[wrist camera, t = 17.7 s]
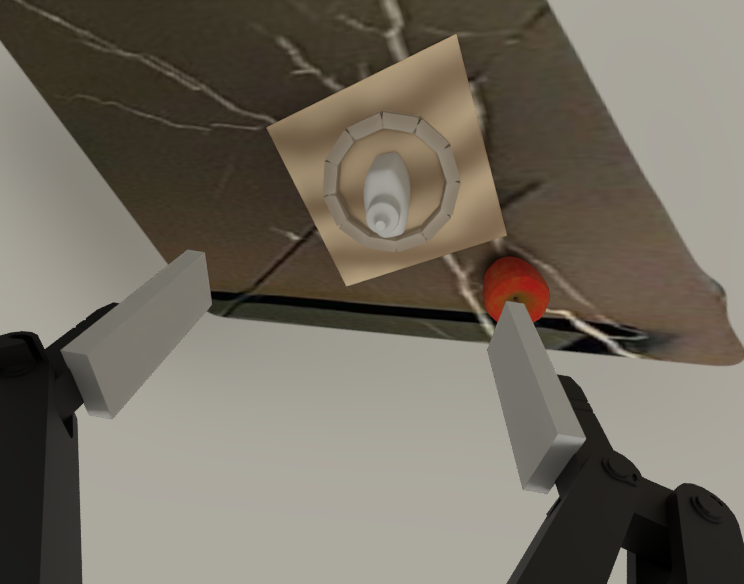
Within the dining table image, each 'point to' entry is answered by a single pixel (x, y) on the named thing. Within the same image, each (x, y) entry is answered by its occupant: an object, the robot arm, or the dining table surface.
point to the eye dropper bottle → (387, 195)
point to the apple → (514, 287)
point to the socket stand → (417, 149)
